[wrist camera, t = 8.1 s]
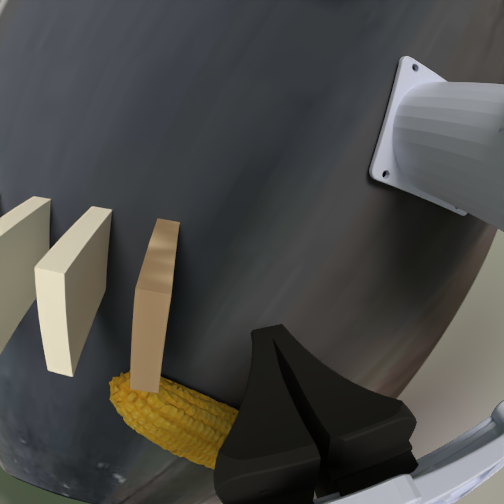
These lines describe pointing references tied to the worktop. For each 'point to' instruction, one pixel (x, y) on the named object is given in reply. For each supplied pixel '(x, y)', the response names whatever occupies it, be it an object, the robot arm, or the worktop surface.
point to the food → (175, 418)
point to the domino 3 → (153, 307)
